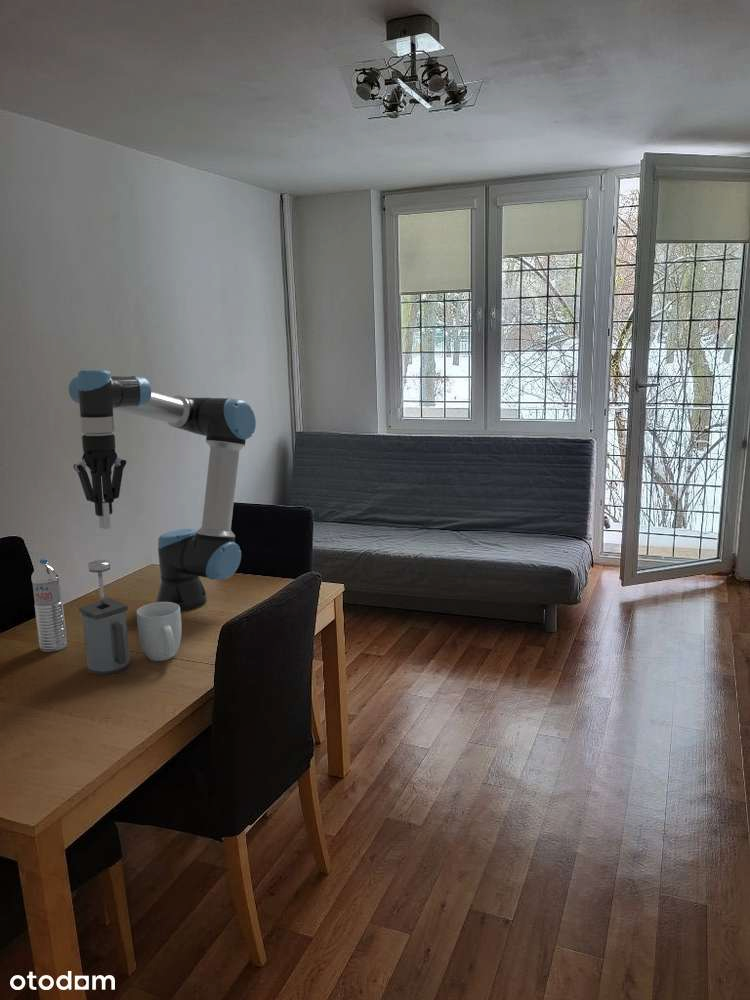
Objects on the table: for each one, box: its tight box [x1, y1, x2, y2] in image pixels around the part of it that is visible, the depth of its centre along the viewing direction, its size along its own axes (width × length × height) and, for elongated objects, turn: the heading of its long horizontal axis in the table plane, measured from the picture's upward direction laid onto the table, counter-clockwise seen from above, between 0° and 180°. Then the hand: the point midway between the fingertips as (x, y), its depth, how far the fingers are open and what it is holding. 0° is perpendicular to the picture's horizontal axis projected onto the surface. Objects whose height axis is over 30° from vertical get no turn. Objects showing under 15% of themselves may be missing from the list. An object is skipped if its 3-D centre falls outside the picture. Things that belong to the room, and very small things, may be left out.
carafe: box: [78, 597, 131, 676], centre depth 185 cm, size 10×12×16 cm
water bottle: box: [31, 557, 68, 653], centre depth 196 cm, size 7×7×25 cm
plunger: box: [87, 559, 111, 609], centre depth 183 cm, size 6×6×16 cm
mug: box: [135, 601, 183, 662], centre depth 190 cm, size 15×11×13 cm
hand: (105, 527), depth 184 cm, fingers closed
